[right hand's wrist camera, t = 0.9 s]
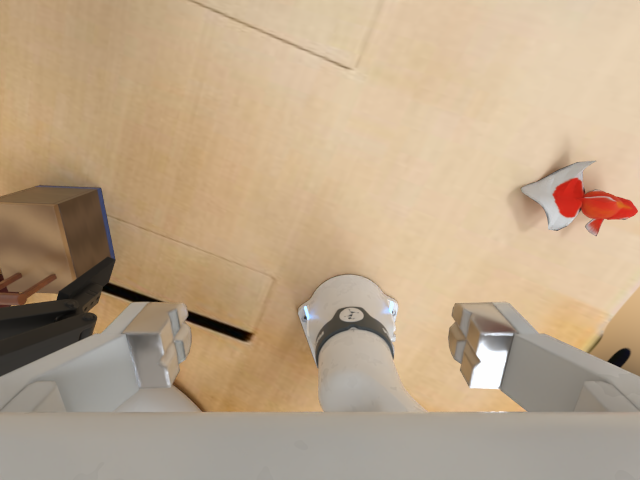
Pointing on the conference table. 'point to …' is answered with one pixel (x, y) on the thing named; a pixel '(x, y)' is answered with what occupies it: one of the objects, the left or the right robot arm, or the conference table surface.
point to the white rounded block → (158, 401)
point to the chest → (75, 220)
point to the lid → (32, 251)
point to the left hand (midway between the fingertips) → (36, 239)
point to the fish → (576, 199)
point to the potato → (4, 291)
